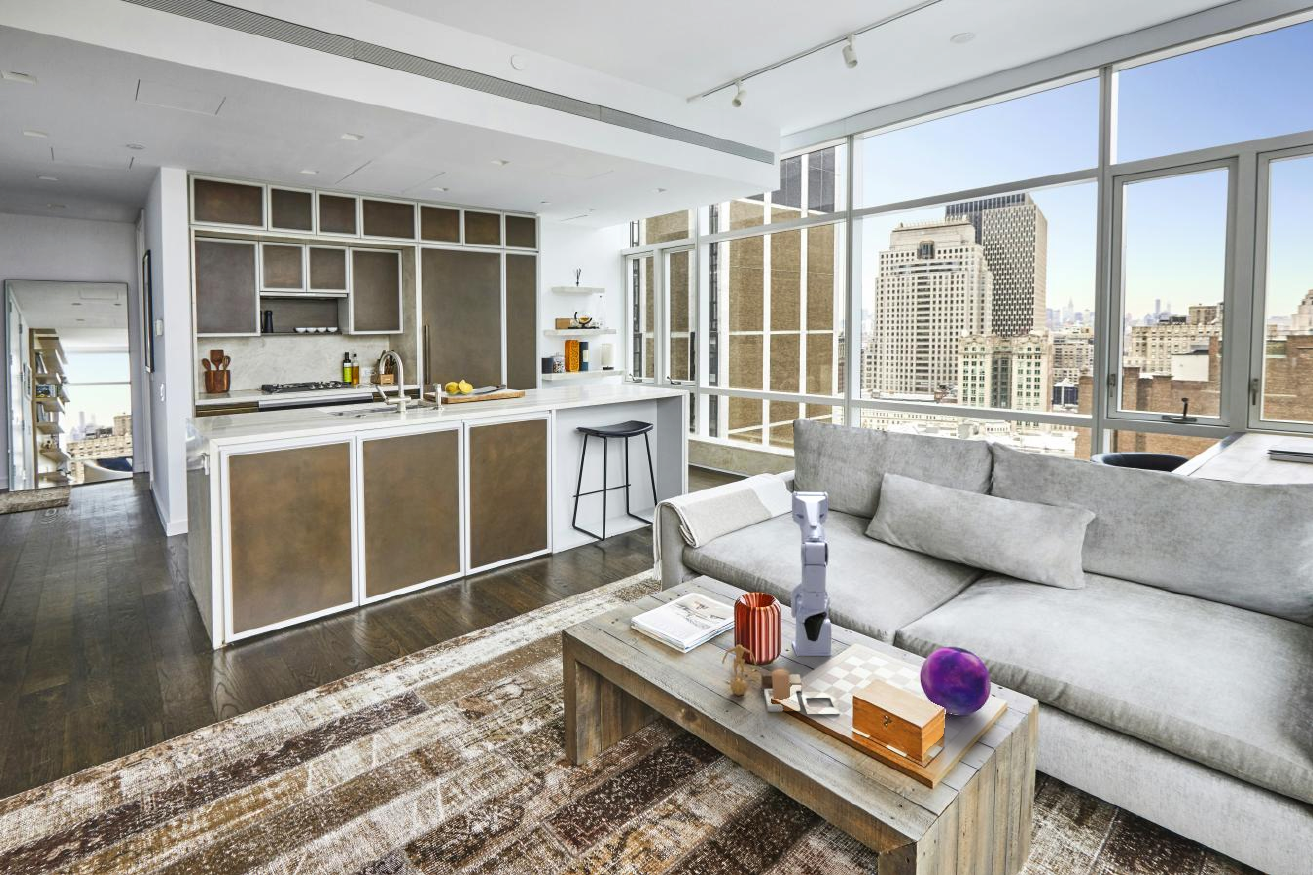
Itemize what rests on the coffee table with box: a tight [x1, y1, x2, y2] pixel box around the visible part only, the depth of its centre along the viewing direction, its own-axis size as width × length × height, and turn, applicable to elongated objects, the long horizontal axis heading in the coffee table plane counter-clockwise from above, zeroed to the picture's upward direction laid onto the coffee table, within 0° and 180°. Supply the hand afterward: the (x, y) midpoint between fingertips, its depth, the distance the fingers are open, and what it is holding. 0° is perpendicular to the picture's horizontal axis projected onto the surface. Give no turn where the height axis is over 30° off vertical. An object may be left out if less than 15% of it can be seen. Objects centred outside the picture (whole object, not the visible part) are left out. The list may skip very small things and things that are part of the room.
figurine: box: [721, 644, 757, 696], centre depth 172 cm, size 8×6×12 cm
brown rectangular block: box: [760, 670, 773, 692], centre depth 174 cm, size 2×2×4 cm
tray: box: [763, 689, 783, 713], centre depth 168 cm, size 8×8×2 cm
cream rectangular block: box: [789, 673, 803, 687], centre depth 174 cm, size 7×4×2 cm, turn 88°
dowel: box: [772, 668, 790, 700], centre depth 168 cm, size 4×4×7 cm
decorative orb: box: [920, 646, 992, 716], centre depth 162 cm, size 15×15×15 cm
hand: (812, 639), depth 177 cm, fingers closed
